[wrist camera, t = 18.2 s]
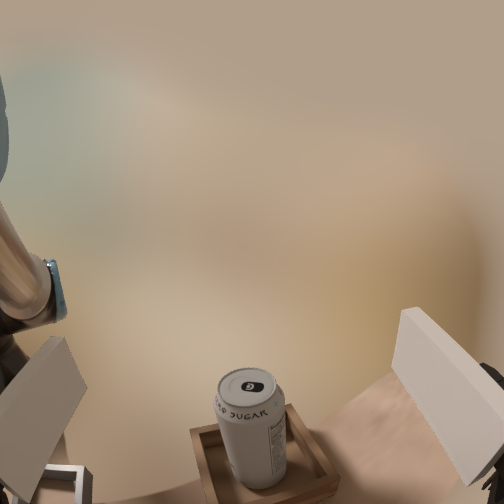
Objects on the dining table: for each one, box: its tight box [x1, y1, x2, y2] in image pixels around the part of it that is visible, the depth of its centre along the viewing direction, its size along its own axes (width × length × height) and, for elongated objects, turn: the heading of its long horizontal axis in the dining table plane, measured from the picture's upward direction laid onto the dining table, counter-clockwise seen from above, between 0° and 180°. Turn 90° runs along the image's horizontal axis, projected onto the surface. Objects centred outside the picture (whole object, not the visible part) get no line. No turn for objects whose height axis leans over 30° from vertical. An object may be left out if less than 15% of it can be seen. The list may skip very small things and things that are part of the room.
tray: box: [12, 464, 93, 504], centre depth 17 cm, size 11×11×2 cm
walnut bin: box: [190, 403, 341, 504], centre depth 26 cm, size 13×13×4 cm
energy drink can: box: [213, 368, 286, 489], centre depth 24 cm, size 6×6×15 cm
